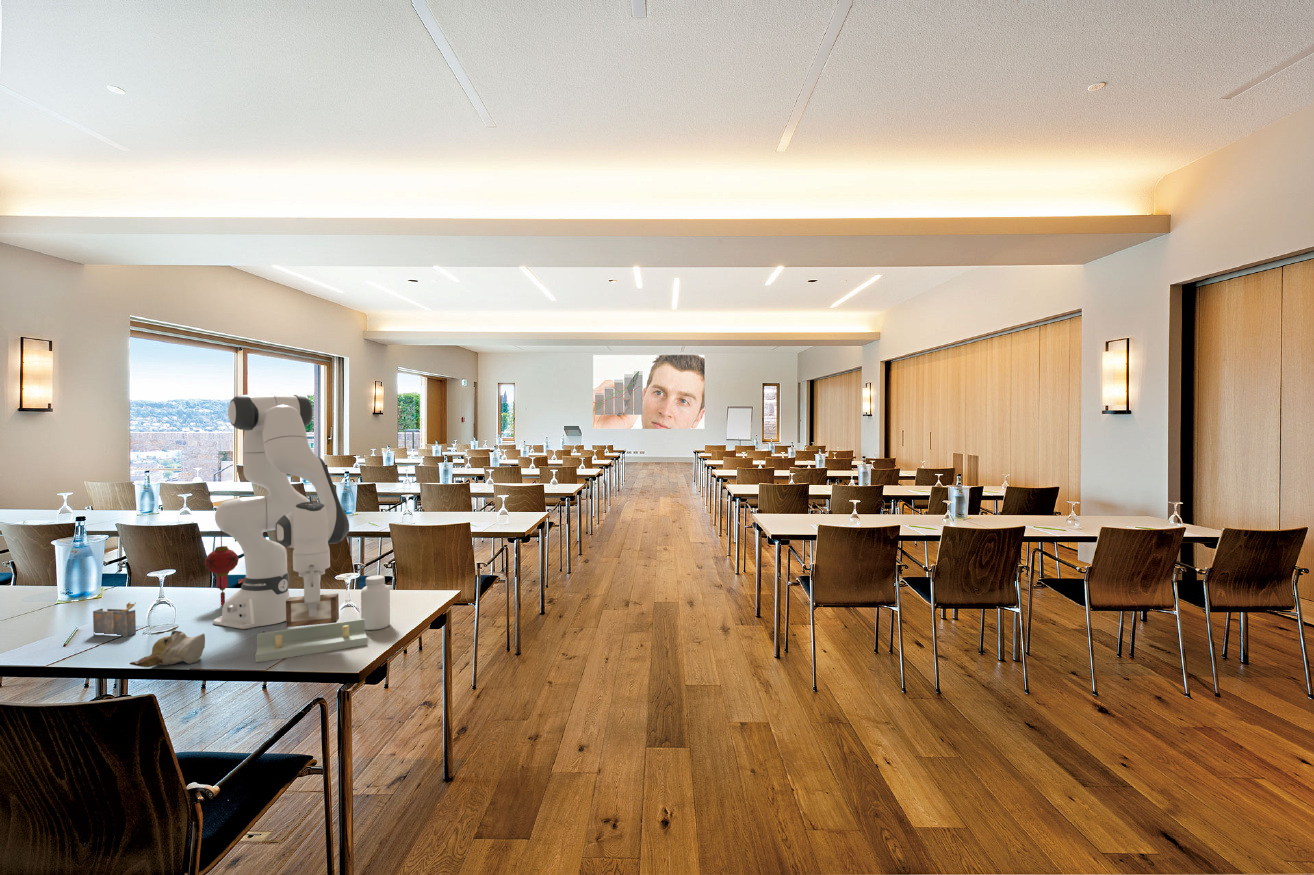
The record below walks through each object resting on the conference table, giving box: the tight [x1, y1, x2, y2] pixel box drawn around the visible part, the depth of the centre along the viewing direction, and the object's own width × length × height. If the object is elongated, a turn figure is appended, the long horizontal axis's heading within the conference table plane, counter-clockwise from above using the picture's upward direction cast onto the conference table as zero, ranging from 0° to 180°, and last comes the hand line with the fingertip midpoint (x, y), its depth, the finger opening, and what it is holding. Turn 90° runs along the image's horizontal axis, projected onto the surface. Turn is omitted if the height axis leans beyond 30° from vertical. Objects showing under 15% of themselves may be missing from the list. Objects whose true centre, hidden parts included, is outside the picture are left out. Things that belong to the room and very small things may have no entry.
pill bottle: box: [360, 574, 391, 631], centre depth 190 cm, size 8×8×15 cm
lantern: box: [204, 529, 239, 606], centre depth 214 cm, size 10×10×30 cm
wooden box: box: [285, 593, 340, 628], centre depth 172 cm, size 12×4×7 cm, turn 107°
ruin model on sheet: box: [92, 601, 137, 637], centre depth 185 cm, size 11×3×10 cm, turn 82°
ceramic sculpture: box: [129, 630, 206, 668], centre depth 163 cm, size 11×9×15 cm
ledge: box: [255, 618, 368, 663], centre depth 172 cm, size 26×8×5 cm, turn 119°
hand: (312, 613), depth 172 cm, fingers closed on wooden box, 4 cm apart
